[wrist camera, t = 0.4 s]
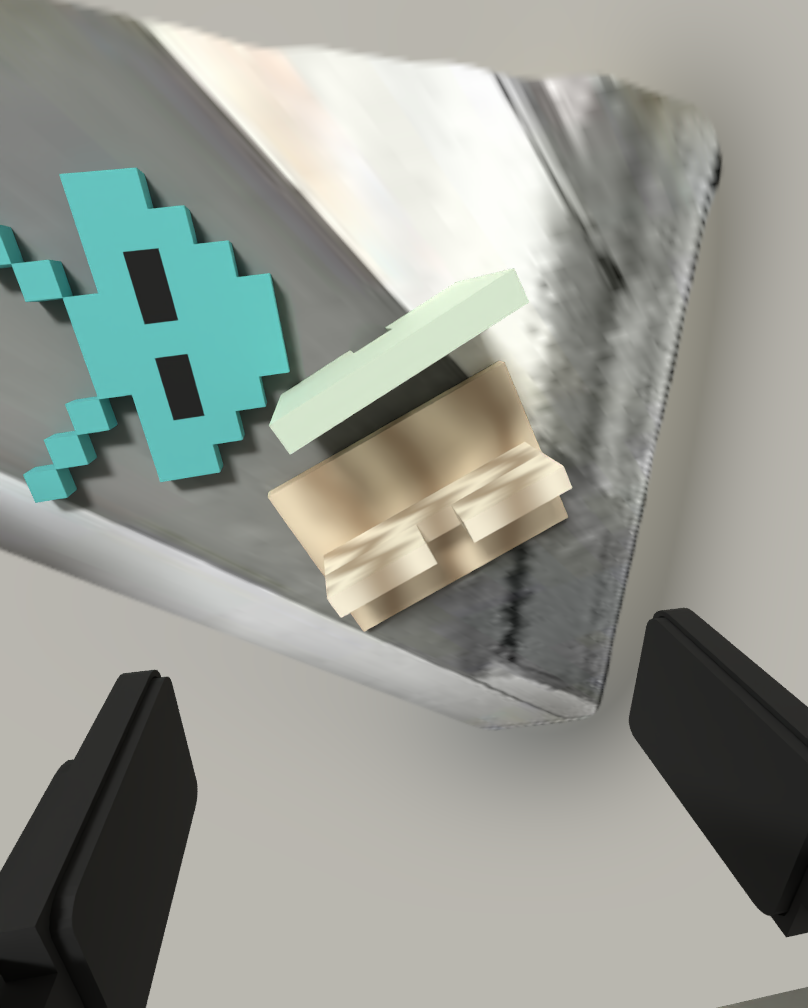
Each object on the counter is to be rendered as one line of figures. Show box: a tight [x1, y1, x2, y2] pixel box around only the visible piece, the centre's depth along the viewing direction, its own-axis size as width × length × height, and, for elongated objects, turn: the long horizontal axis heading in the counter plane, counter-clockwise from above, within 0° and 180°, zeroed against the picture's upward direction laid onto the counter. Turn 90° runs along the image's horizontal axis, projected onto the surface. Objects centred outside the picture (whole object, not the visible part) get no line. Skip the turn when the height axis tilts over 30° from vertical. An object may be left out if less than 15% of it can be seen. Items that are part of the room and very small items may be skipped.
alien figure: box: [0, 168, 290, 503], centre depth 35 cm, size 20×2×20 cm
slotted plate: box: [269, 268, 529, 454], centre depth 34 cm, size 16×2×12 cm, turn 121°
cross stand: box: [268, 361, 572, 631], centre depth 41 cm, size 22×16×8 cm
